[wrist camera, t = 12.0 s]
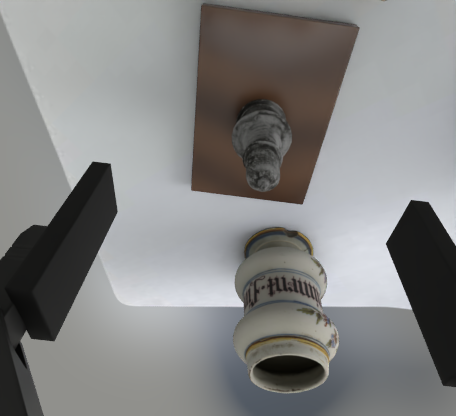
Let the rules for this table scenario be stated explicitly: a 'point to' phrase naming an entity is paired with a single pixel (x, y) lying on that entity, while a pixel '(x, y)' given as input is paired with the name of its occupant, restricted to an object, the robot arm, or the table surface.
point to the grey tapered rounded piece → (262, 142)
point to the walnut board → (265, 92)
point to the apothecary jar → (283, 313)
